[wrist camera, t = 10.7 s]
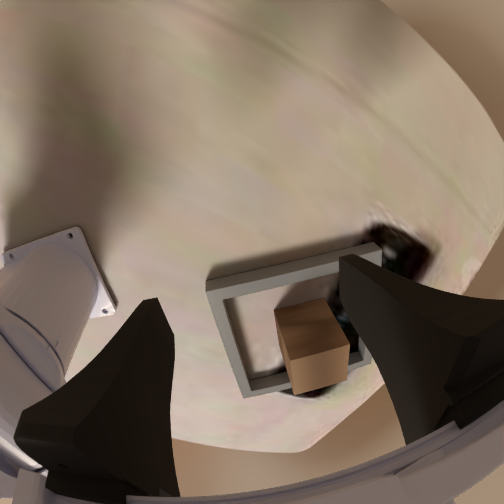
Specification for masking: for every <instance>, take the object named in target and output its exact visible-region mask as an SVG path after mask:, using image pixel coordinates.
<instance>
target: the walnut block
mask: <svg viewBox="0 0 504 504" xmlns="http://www.w3.org/2000/svg"><path fill="white" fill-rule="evenodd" d="M274 315H275V321H276V327H277V334H278V340H279V346H280V349H281V353H282V356H283V359H284V363H285V366H286V369H287V373H288V376H289V379H290V383H291V386H292V389H293V392H294V395H296V394H300V393H304V392H308V391H311V390H315V389H319V388H322V387H325V386H329V385H332V384H336V383H339V382H342V381H345V380H347V371H348V361H349V349H350V343H349V342H348V340H347V338H346V336H345V334H344V333H343V331H342V329H341V327H340V325H339V324H338V322H337V320H336V318H335V317H334V315H333V313H332V311H331V310H330V308H329V306H328V304H327V303H326V301H325V299H324V298H322V299H318V300H314V301H310V302H306V303H302V304H298V305H293V306H289V307H285V308H281V309H276V310H274Z"/></svg>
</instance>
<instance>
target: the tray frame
mask: <svg viewBox="0 0 504 504" xmlns="http://www.w3.org/2000/svg"><path fill="white" fill-rule="evenodd" d="M349 254H355V255H358V256H360V257H362V258H364V259H366V260H368V261H370V262H372V263H374V264H376V265H378V266H381V262H382V249H381V248H380V247H379V246H377V245H376V244H375V243H374V242H370V243H366V244H362V245H358V246H354V247H350V248H346V249H342V250H338V251H334V252H329V253H325V254H321V255H317V256H313V257H309V258H304V259H300V260H296V261H292V262H287V263H283V264H279V265H274V266H270V267H266V268H261V269H257V270H253V271H248V272H244V273H239V274H235V275H230V276H226V277H221V278H217V279H212V280H208V281H206V294H207V297H208V301H209V304H210V307H211V310H212V313H213V316H214V319H215V321H216V324H217V327H218V330H219V333H220V336H221V339H222V342H223V345H224V347H225V350H226V353H227V356H228V358H229V361H230V364H231V367H232V369H233V372H234V375H235V378H236V380H237V383H238V385H239V388H240V391H241V393H242V396H243V398H248V397H253V396H258V395H263V394H267V393H271V392H276V391H280V390H284V389H288V388H292V386H291V383H290V379H289V376H288V373H287V372H284V373H280V374H275V375H271V376H267V377H262V378H258V379H253V380H249V378H248V375H247V372H246V369H245V366H244V362H243V359H242V356H241V353H240V350H239V347H238V343H237V340H236V337H235V334H234V330H233V327H232V324H231V320H230V317H229V314H228V310H227V307H226V304H225V300H224V299H228V298H233V297H237V296H242V295H246V294H251V293H255V292H259V291H264V290H268V289H272V288H276V287H281V286H285V285H289V284H293V283H297V282H301V281H305V280H309V279H313V278H317V277H321V276H325V275H329V274H333V273H337V272H339V257H341V256H345V255H349ZM371 359H372V355H371V354H370V352H369V350H368V349H367V347H366V346H365V344H364V342H363V341H362V339H361V338H360V336H359V347H358V351H357V352H354V353H351V354H349V361H348V371H350V370H353V369H356V368H359V367H362V366H365V365H368V364H371Z"/></svg>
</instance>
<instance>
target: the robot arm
mask: <svg viewBox="0 0 504 504" xmlns="http://www.w3.org/2000/svg"><path fill="white" fill-rule="evenodd" d="M69 233H71V234H72V235H73V237H70V235H69ZM12 255H13V256H12ZM1 259H2V262H3V264H4V267H3V268H2V269H1V270H0V499H13V501H12V504H455V502H454V500H453V499H454V498H456V497H457V496H459V495H460V494H462V493H463V492H465V491H466V490H468V489H469V488H471V487H472V486H474V485H475V484H477V483H478V482H479V481H481V480H482V479H483V478H485V477H486V476H488V475H489V474H490V473H491V472H493V471H494V470H495V469H497V468H498V467H499V466H500V465H502V464H503V463H504V300H495V299H482V298H474V297H468V296H462V295H458V294H453V293H449V292H445V291H441V290H438V289H434V288H431V287H428V286H425V285H422V284H419V283H417V282H414V281H412V280H409V279H407V278H404V277H402V276H400V275H398V274H395V273H393V272H391V271H389V270H387V269H385V268H383V267H381V266H378V265H376V264H374V263H372V262H370V261H368V260H366V259H364V258H362V257H360V256H358V255H355V254H349V255H345V256H341V257H339V289H340V301H341V303H342V305H343V307H344V310H345V312H346V314H347V316H348V318H349V320H350V321H351V323H352V325H353V326H354V328H355V330H356V331H357V333H358V334H359V336H360V338H361V339H362V341H363V342H364V344H365V346H366V347H367V349H368V350H369V352H370V354H371V355H372V357H373V359H374V361H375V362H376V364H377V366H378V368H379V371H380V373H381V375H382V377H383V380H384V382H385V384H386V387H387V389H388V392H389V394H390V397H391V399H392V402H393V405H394V407H395V410H396V413H397V416H398V419H399V422H400V425H401V429H402V432H403V436H404V439H405V443H406V446H404V447H401V448H399V449H397V450H395V451H392V452H390V453H388V454H385V455H383V456H380V457H378V458H375V459H373V460H370V461H368V462H365V463H362V464H359V465H357V466H354V467H351V468H348V469H345V470H342V471H338V472H335V473H332V474H329V475H325V476H322V477H318V478H314V479H310V480H306V481H303V482H298V483H294V484H289V485H285V486H280V487H275V488H269V489H263V490H257V491H250V492H243V493H235V494H226V495H215V496H199V497H180V492H179V488H178V482H177V477H176V472H175V465H174V458H173V449H172V439H171V423H170V402H171V391H172V381H173V371H174V361H175V343H174V334H173V332H172V330H171V327H170V325H169V323H168V321H167V319H166V316H165V314H164V312H163V310H162V307H161V305H160V303H159V300H158V298H152V299H147V300H143V301H142V302H141V303H140V304H139V306H138V307H137V308H136V309H135V310H134V312H133V313H132V314H131V315H130V317H129V318H128V319H127V321H126V322H125V323H124V324H123V326H122V327H121V328H120V329H119V331H118V332H117V333H116V334H115V335H114V337H113V338H112V339H111V340H110V341H109V342H108V344H107V345H106V346H105V347H104V348H103V349H102V351H101V352H100V353H99V354H98V355H97V356H96V357H95V358H94V359H93V360H92V361H91V362H90V363H89V364H88V365H87V366H86V367H85V368H84V369H83V370H81V371H80V372H79V373H78V374H77V375H75V376H74V377H73V378H72V379H71V380H69V381H68V382H67V383H66V381H65V379H64V378H65V375H66V372H67V370H68V367H69V364H70V362H71V359H72V357H73V354H74V352H75V349H76V347H77V344H78V342H79V340H80V337H81V335H82V333H83V330H84V328H85V326H86V323H87V321H88V319H92V318H97V317H103V316H108V315H113V314H115V312H116V306H115V304H114V302H113V300H112V298H111V296H110V294H109V292H108V290H107V288H106V286H105V283H104V281H103V279H102V277H101V275H100V273H99V270H98V268H97V266H96V264H95V261H94V259H93V257H92V254H91V252H90V250H89V247H88V245H87V242H86V240H85V237H84V235H83V232H82V230H81V229H80V228H79V227H72V228H69V229H66V230H63V231H60V232H57V233H54V234H52V235H49V236H46V237H43V238H40V239H38V240H35V241H32V242H29V243H27V244H24V245H21V246H19V247H16V248H14V249H11V250H8V251H6V252H4V253H3V254H2V255H1ZM104 309H106V310H107V311H105V310H104Z"/></svg>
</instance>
